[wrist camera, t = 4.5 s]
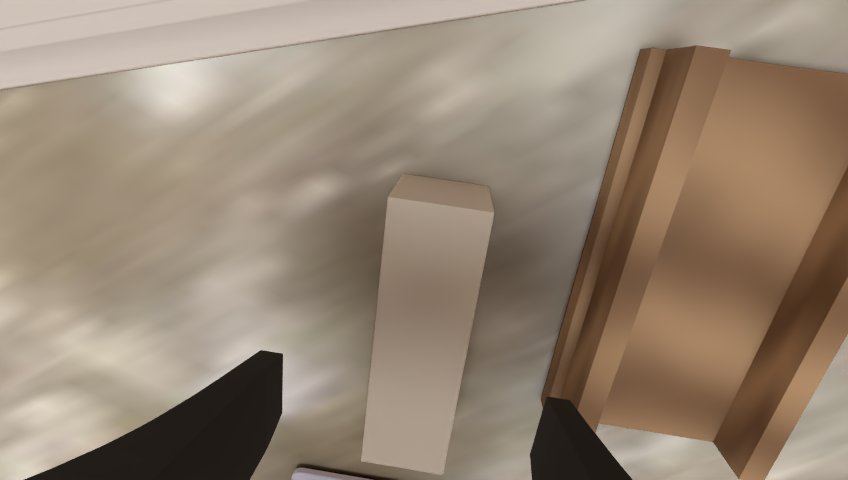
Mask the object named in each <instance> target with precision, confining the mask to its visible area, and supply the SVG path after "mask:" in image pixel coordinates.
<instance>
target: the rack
mask: <svg viewBox="0 0 848 480" xmlns="http://www.w3.org/2000/svg"><path fill="white" fill-rule="evenodd" d="M730 51H731V50H726V49H719V48H711V47H704V46H690V47H683V48H676V49H669V50H664V49H657V48H648V49H642V50H640V54H639V57H638V61H637V64H636V68H635V71H634V75H633V78H632V82H631V85H630V89H629V92H628V96H627V99H626V103H625V106H624V110H623V113H622V117H621V120H620V124H619V127H618V131H617V134H616V138H615V141H614V145H613V148H612V152H611V155H610V159H609V162H608V166H607V170H606V173H605V177H604V180H603V184H602V187H601V191H600V194H599V198H598V201H597V205H596V208H595V212H594V215H593V219H592V222H591V226H590V229H589V233H588V236H587V240H586V243H585V247H584V250H583V254H582V257H581V261H580V264H579V268H578V271H577V275H576V278H575V282H574V285H573V289H572V292H571V296H570V299H569V303H568V306H567V310H566V313H565V317H564V320H563V324H562V327H561V331H560V334H559V338H558V342H557V345H556V349H555V352H554V356H553V359H552V363H551V366H550V370H549V373H548V377H547V380H546V384H545V387H544V391H543V394H542V398H541V402H542V406H543V408H544V404H545V401H546V397H547V396H548V397H554V398H560V399H567V400H570V401H571V402H572V404H573V405H574V406H575V407H576V409H577V410H578V411H579V413H580V414H581V415H582V417H583V418H584V419H585V421H586V422H587V423H588V425H589V426H590V427H591V429H592V430H593V431H594V432H596V429H597V426H598V423H600V424H606V425H613V426H619V427H625V428H631V429H637V430H643V431H649V432H655V433H661V434H668V435H674V436H680V437H686V438H692V439H698V440H704V441H710V442H713V443H714V444H715V445H716V447H717V448H718V450H719V451H720V453H721V454H722V456H723V457H724V459H725V460H726V461H727V463H728V464H729V466H730V467H731V469H732V470H733V472H734V473H735V475H736V476H737V477H738V479H741V480H765V478H766V476H767V475H768V473H769V471H770V469H771V468H772V466H773V464H774V462H775V461H776V459H777V457H778V455H779V454H780V452H781V450H782V448H783V447H784V445H785V443H786V441H787V439H788V438H789V436H790V434H791V432H792V431H793V429H794V427H795V425H796V424H797V422H798V420H799V418H800V417H801V415H802V413H803V411H804V410H805V408H806V406H807V404H808V403H809V401H810V399H811V397H812V396H813V394H814V392H815V390H816V389H817V387H818V385H819V383H820V382H821V380H822V378H823V376H824V374H825V373H826V371H827V369H828V367H829V366H830V364H831V362H832V360H833V359H834V357H835V355H836V353H837V352H838V350H839V348H840V346H841V345H842V343H843V341H844V339H845V338H846V336H847V334H848V74H844V73H836V72H829V71H821V70H814V69H806V68H799V67H791V66H784V65H776V64H769V63H761V62H754V61H747V60H739V59H732V58H728V57H729V54H730Z"/></svg>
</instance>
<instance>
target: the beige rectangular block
mask: <svg viewBox="0 0 848 480" xmlns="http://www.w3.org/2000/svg"><path fill="white" fill-rule="evenodd" d="M493 218H494V208H493V204H492V200H491V195H490V191H489V187H488V186H484V185H477V184H470V183H463V182H456V181H449V180H443V179H436V178H429V177H422V176H415V175H408V174H402V176H401V177H400V179H399V180H398V182H397V183H396V185H395V187H394V188H393V190H392V191H391V193H390V194H389V196H388V201H387V211H386V221H385V231H384V241H383V250H382V260H381V270H380V280H379V290H378V300H377V310H376V320H375V329H374V339H373V349H372V359H371V369H370V379H369V389H368V399H367V408H366V418H365V428H364V438H363V448H362V458H361V461H363V462H369V463H375V464H381V465H387V466H393V467H399V468H405V469H410V470H416V471H422V472H428V473H434V474H440V475H443V472H444V467H445V461H446V456H447V451H448V446H449V441H450V436H451V431H452V426H453V421H454V416H455V411H456V406H457V401H458V395H459V390H460V385H461V380H462V375H463V370H464V365H465V360H466V355H467V350H468V345H469V340H470V335H471V329H472V324H473V319H474V314H475V309H476V304H477V299H478V294H479V289H480V284H481V279H482V274H483V269H484V263H485V258H486V253H487V248H488V243H489V238H490V233H491V228H492V223H493Z"/></svg>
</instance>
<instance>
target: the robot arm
mask: <svg viewBox="0 0 848 480" xmlns="http://www.w3.org/2000/svg"><path fill="white" fill-rule="evenodd" d="M282 375H283V354H281V353H275V352H269V351H262V350H261V351H259V352H258V353H256V354H255V355H253V356H252V357H250V358H249V359H247V360H246V361H244V362H243V363H241V364H240V365H238V366H237V367H236V368H234V369H233V370H231V371H230V372H228V373H227V374H225V375H224V376H222V377H221V378H219V379H218V380H216V381H215V382H213V383H212V384H210V385H209V386H207V387H206V388H204V389H203V390H201V391H200V392H198V393H197V394H195V395H194V396H192V397H190V398H189V399H187V400H185V401H184V402H182V403H180V404H179V405H177V406H175V407H174V408H172V409H170V410H169V411H167V412H165V413H164V414H162V415H160V416H159V417H157V418H155V419H154V420H152V421H150V422H148V423H146V424H145V425H143V426H141V427H139V428H137V429H135V430H133V431H131V432H129V433H127V434H125V435H123V436H122V437H120V438H118V439H116V440H114V441H112V442H110V443H108V444H106V445H103V446H101V447H99V448H97V449H95V450H92V451H90V452H88V453H86V454H84V455H81V456H79V457H77V458H75V459H72V460H70V461H68V462H66V463H63V464H61V465H59V466H57V467H54V468H52V469H50V470H47V471H45V472H42V473H40V474H37V475H35V476H32V477H30V478H27V479H25V480H250V478H251V476H252V474H253V473H254V471H255V469H256V467H257V466H258V464H259V462H260V460H261V459H262V457H263V455H264V453H265V451H266V449H267V447H268V445H269V443H270V441H271V438H272V436H273V434H274V431H275V429H276V426H277V424H278V422H279V419H280V417H281V414H282ZM530 458H531V471H532V480H632V479H631V477H630V476H629V475H628V474H627V473H626V471H625V470H624V469H623V468H622V467H621V465H620V464H619V463H618V462H617V460H616V459H615V458H614V457H613V456H612V454H611V453H610V452H609V451H608V449H607V448H606V447H605V445H604V444H603V443H602V442H601V440H600V439H599V438H598V436H597V435H596V434H595V432H594V431H593V430H592V429H591V427H590V426H589V425H588V423H587V422H586V421H585V419H584V418H583V417H582V415H581V414H580V413H579V411H578V410H577V409H576V407H575V406H574V405H573V404H572V402H571V401H570V400H567V399H560V398H554V397H548V396H547V397H546V401H545V404H544V408H543V411H542V415H541V418H540V422H539V425H538V429H537V432H536V436H535V439H534V443H533V446H532V450H531V453H530ZM292 480H372V479H366V478H360V477H355V476H349V475H343V474H337V473H331V472H325V471H319V470H314V469H308V468H297V469H295V470H294V472H293V475H292Z"/></svg>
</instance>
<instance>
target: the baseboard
mask: <svg viewBox="0 0 848 480" xmlns="http://www.w3.org/2000/svg"><path fill="white" fill-rule="evenodd" d="M578 1H584V0H0V90H5V89H11V88H18V87H25V86H31V85H38V84H44V83H51V82H57V81H64V80H70V79H77V78H83V77H90V76H96V75H103V74H109V73H116V72H122V71H129V70H135V69H142V68H148V67H155V66H161V65H168V64H174V63H181V62H187V61H194V60H200V59H207V58H213V57H220V56H226V55H233V54H239V53H246V52H252V51H259V50H265V49H272V48H278V47H285V46H291V45H298V44H304V43H311V42H317V41H324V40H330V39H337V38H343V37H350V36H356V35H363V34H369V33H376V32H382V31H389V30H395V29H402V28H408V27H415V26H421V25H428V24H434V23H441V22H447V21H454V20H460V19H467V18H473V17H480V16H486V15H493V14H500V13H506V12H513V11H519V10H526V9H532V8H539V7H545V6H552V5H558V4H565V3H571V2H578Z"/></svg>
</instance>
